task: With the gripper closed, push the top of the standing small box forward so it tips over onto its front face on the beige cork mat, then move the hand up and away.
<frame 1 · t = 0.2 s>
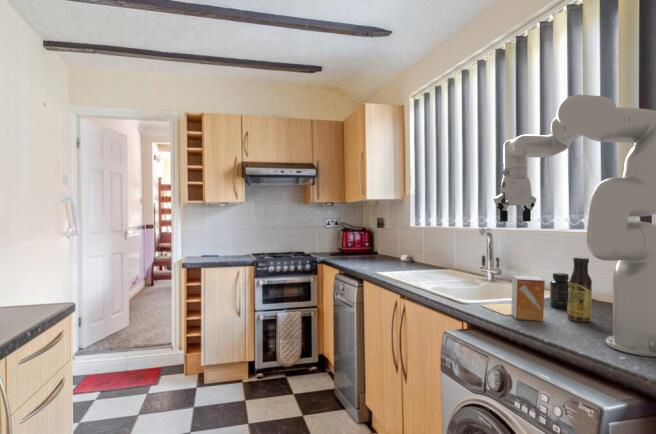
hand: (515, 221, 139), 31 cm above the worktop, tool pointing down, fingers open, 9 cm apart
cork mat: (507, 309, 135), on the worktop
sauce bottle: (579, 321, 121), on the worktop
small box: (526, 318, 124), on the worktop, touching cork mat
supplement bottle: (560, 307, 138), on the worktop
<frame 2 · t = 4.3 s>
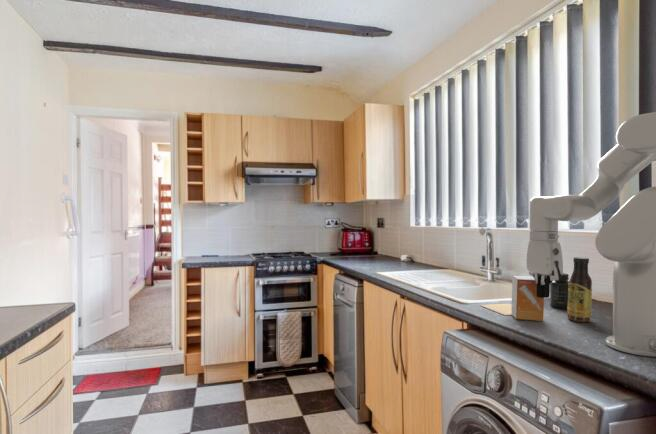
hand: (543, 297, 117), 8 cm above the worktop, tool pointing down, fingers closed
small box: (526, 318, 124), on the worktop, touching cork mat, gripper
everything else where it was.
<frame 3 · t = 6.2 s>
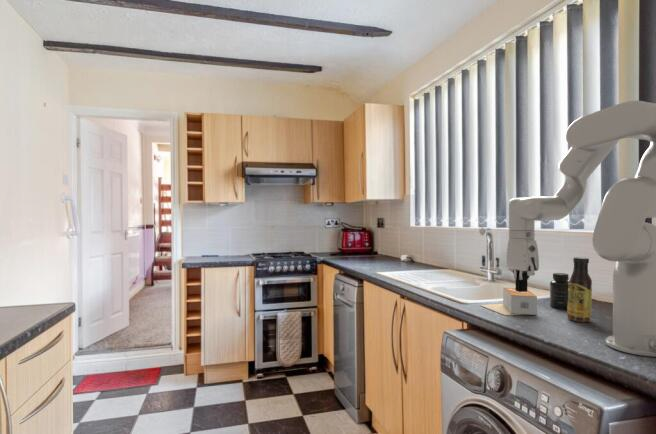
hand: (521, 291, 126), 8 cm above the worktop, tool pointing down, fingers closed
small box: (524, 305, 127), point 4 cm above the worktop, touching cork mat
everything else where it was.
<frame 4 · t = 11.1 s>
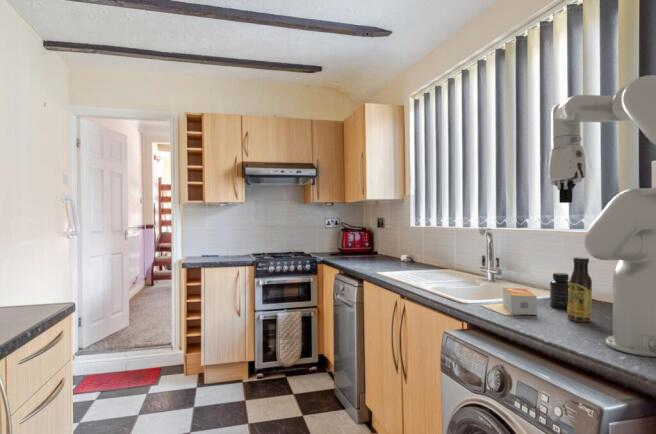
hand: (565, 202, 120), 37 cm above the worktop, tool pointing down, fingers closed
nothing on the worktop moved.
at the end: small box tilted 90°; small box inside the target area (3.0 cm from its centre), point 3.5 cm above the worktop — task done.
